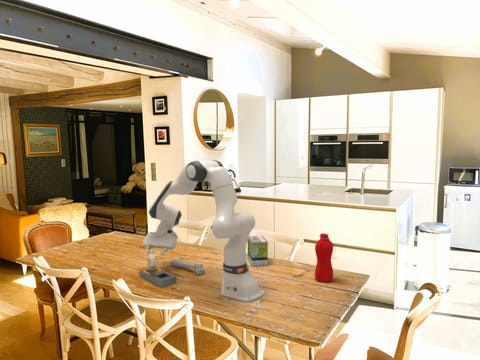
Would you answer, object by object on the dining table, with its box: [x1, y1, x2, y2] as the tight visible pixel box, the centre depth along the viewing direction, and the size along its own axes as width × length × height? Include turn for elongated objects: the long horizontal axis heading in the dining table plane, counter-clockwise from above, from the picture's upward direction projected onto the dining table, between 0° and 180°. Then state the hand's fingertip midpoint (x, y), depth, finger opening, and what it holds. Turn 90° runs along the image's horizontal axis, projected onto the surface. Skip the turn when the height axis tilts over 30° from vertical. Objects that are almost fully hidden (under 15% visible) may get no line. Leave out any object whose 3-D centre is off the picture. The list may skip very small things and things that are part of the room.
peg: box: [147, 251, 157, 273], centre depth 203 cm, size 4×4×14 cm
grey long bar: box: [171, 259, 206, 276], centre depth 213 cm, size 5×7×25 cm
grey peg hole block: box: [138, 266, 177, 288], centre depth 199 cm, size 23×9×4 cm, turn 44°
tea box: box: [247, 235, 269, 267], centre depth 224 cm, size 15×10×15 cm, turn 9°
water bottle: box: [314, 232, 337, 283], centre depth 193 cm, size 9×11×25 cm
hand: (154, 254), depth 205 cm, fingers open, 8 cm apart
